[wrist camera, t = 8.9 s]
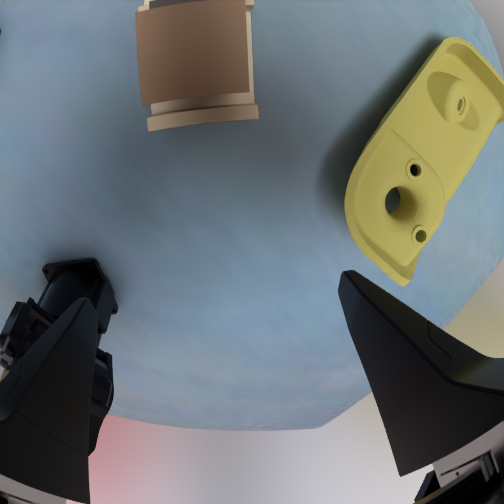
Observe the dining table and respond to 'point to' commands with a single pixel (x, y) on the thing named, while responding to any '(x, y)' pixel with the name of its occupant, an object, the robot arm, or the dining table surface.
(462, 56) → the plastic component
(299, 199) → the dining table surface
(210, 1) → the walnut finger
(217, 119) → the rail
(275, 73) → the dining table surface
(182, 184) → the dining table surface
